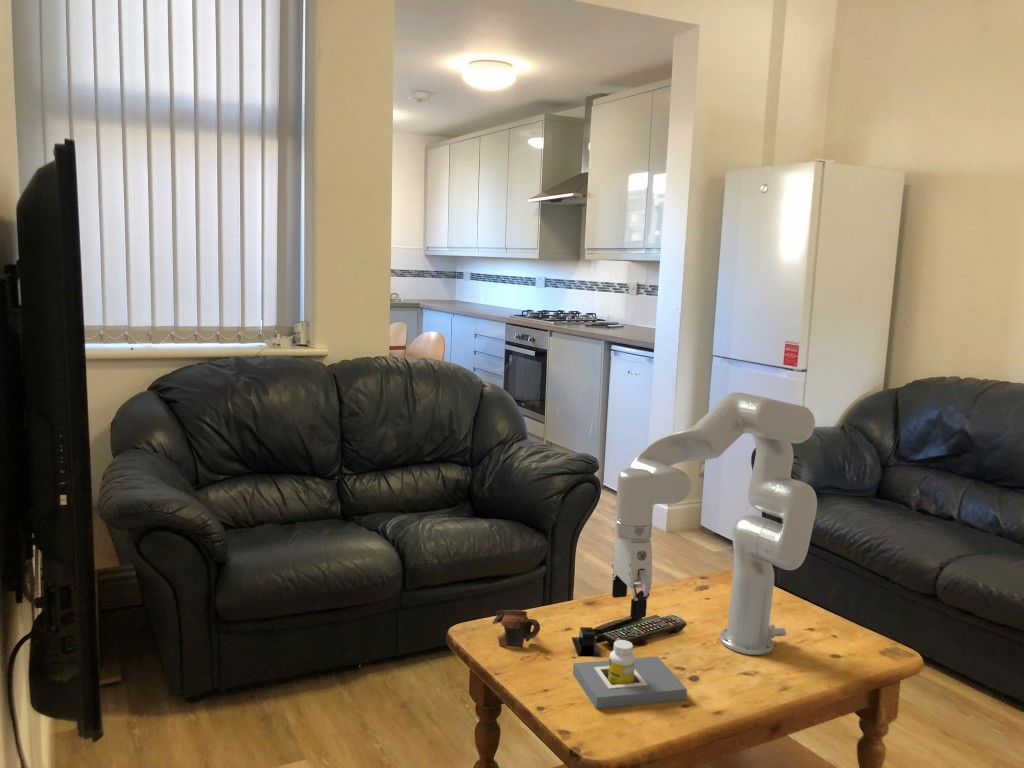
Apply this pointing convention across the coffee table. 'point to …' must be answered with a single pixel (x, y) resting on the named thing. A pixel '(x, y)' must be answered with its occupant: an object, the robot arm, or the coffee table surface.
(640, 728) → the coffee table surface
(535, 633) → the pottery mug
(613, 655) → the supplement bottle
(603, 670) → the board
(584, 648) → the black stand
